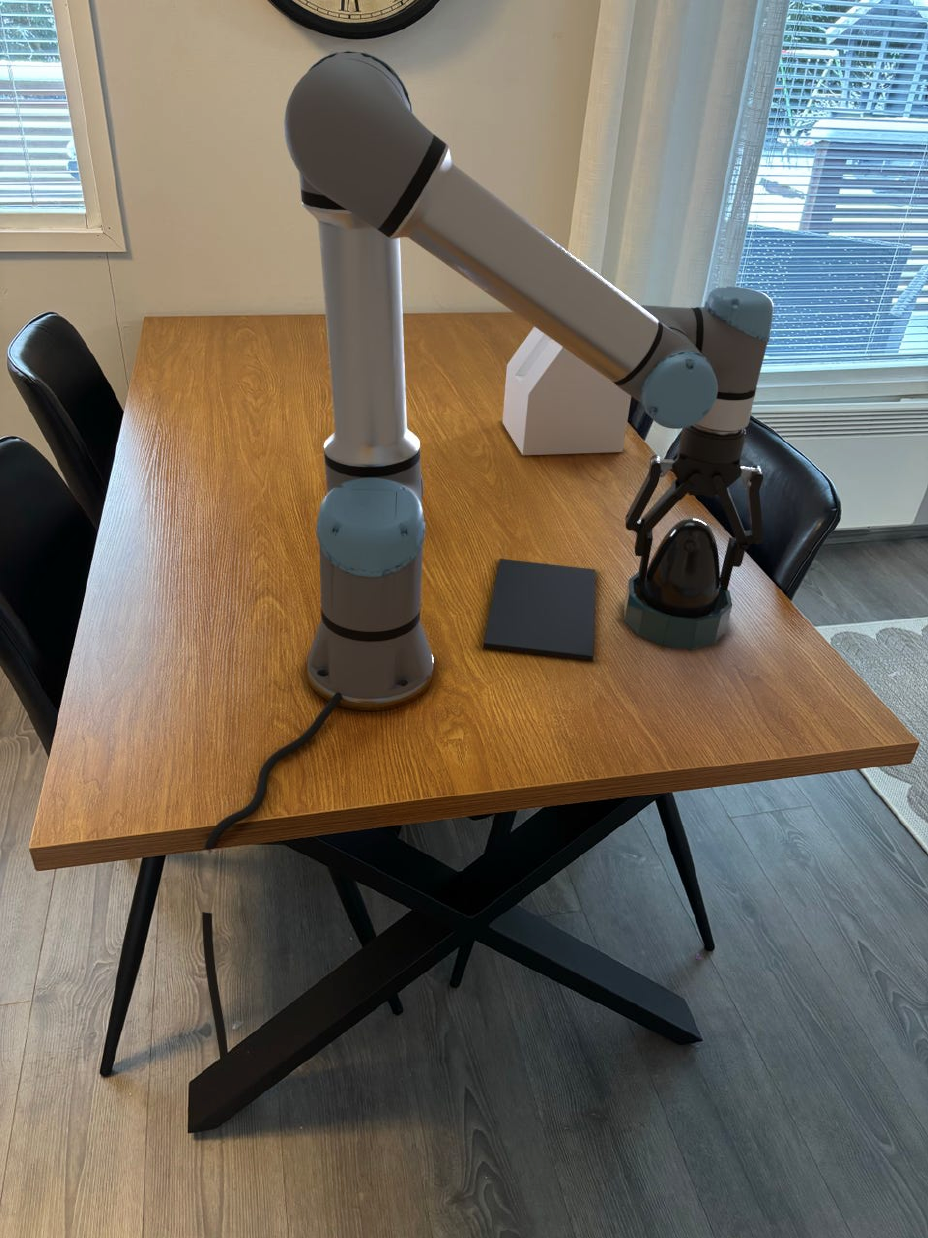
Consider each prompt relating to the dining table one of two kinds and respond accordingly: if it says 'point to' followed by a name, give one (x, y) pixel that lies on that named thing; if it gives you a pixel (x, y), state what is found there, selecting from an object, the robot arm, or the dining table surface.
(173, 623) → the dining table surface
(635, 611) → the teal ring
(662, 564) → the dark glossy rounded piece
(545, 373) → the white pentagonal block
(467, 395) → the dining table surface
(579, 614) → the rubber mat
